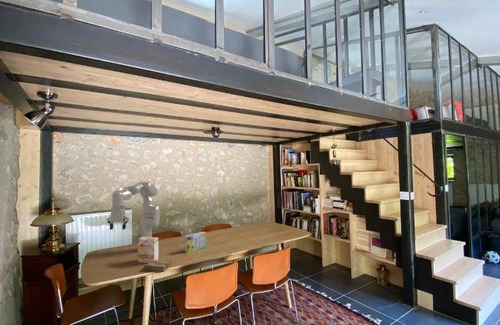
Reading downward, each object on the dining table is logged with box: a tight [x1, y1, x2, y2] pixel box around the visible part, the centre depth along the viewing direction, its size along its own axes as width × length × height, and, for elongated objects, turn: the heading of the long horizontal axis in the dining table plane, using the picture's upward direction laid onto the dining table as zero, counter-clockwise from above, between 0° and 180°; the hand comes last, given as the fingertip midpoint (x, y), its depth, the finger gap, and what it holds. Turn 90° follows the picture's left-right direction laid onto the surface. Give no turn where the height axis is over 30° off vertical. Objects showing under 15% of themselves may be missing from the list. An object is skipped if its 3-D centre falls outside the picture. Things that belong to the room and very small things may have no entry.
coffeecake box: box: [137, 236, 159, 264], centre depth 203 cm, size 15×7×20 cm, turn 81°
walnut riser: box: [143, 259, 172, 273], centre depth 189 cm, size 12×16×4 cm
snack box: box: [183, 231, 207, 254], centre depth 230 cm, size 21×6×15 cm, turn 135°
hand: (117, 229), depth 188 cm, fingers open, 9 cm apart
